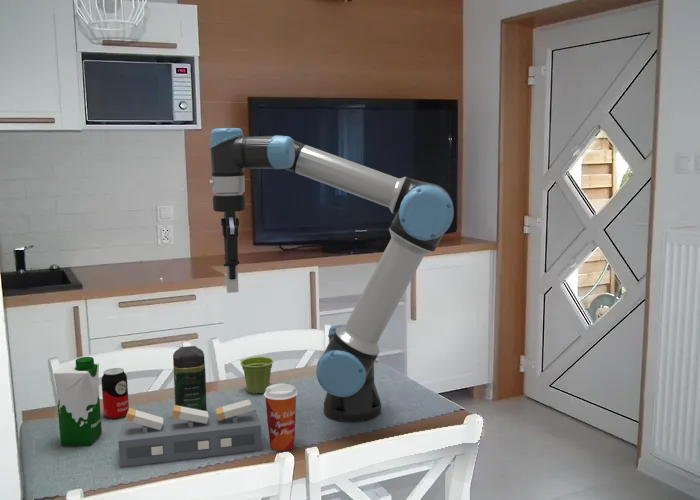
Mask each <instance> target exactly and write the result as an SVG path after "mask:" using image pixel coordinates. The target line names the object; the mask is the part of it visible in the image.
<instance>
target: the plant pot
mask: <svg viewBox="0 0 700 500" xmlns="http://www.w3.org/2000/svg"><path fill="white" fill-rule="evenodd" d="M274 362H275V360H274V359H273V358H271V357H267V356H255V357H253V356H252V357H248V358H244V359H243V360H241V361H240V362H239V363H240V366H241V367H242V371H243V373H244V379H245V383H246V390H247V392H248V393H250V394H253V395H255V394H264V393H265V391H266V388H267V387H268V386H270V382H271V371H272V368H273V363H274Z"/></svg>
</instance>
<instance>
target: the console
mask: <svg viewBox="0 0 700 500" xmlns="http://www.w3.org/2000/svg"><path fill="white" fill-rule="evenodd" d="M252 410H253V411H250V412H247V413H243V414H240V415H236V416H233V417H229V418H226V419H223V420H219V421H218V417H217V413H213V414H208V416H209V418H208V421H207V424H205V423H200V422H195V421H189V420H184V419H178V418H173V417H172V418H165V419H164V418H163V425H162V428H161V430H158V429H154V428H151V427H147V426H144V425H140V424H137V423H133V422H127V423H121V425H120V429H119V430H120V431H119V436H118V443H117V446H118V456H119V457H118V458H119V468H126V467H135V466H142V465H151V464H159V463H161V464H162V463H167V462H175V461H176V462H177V461H184V460H185V461H186V460H193V459H200V458H210V457H217V456H227V455H234V454H241V453H250V452H251V453H252V452H258V451H259V452H260V451H263V450H262V424H261V422H260V419H259V416H258V413H257V409H252Z"/></svg>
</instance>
